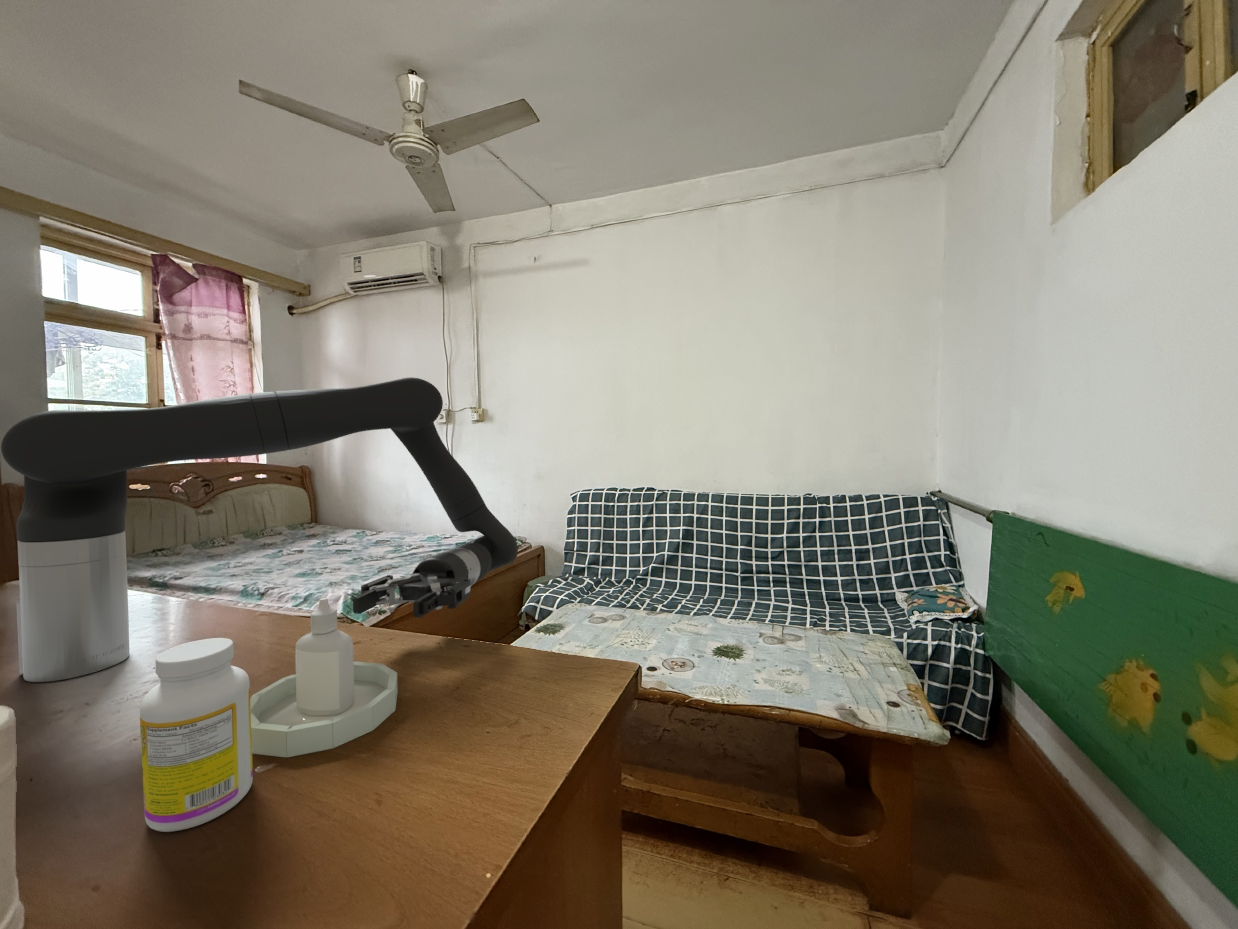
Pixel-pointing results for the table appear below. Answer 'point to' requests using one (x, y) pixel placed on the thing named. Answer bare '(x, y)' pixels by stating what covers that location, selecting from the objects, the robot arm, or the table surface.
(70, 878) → the table surface
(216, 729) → the supplement bottle
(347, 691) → the eye dropper bottle
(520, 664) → the table surface
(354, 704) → the dish
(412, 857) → the table surface
